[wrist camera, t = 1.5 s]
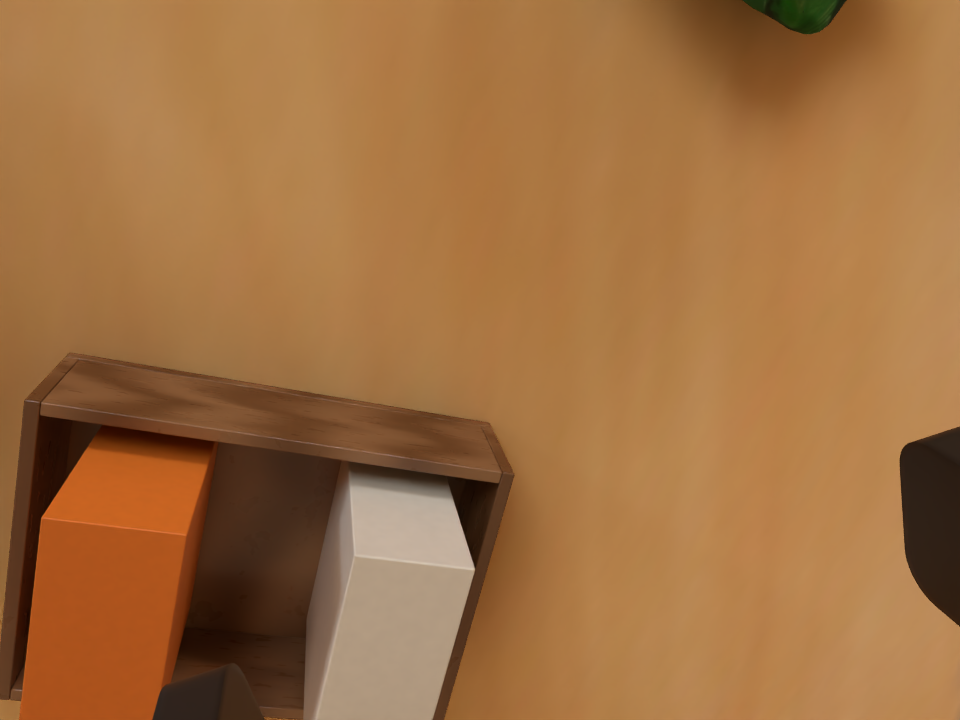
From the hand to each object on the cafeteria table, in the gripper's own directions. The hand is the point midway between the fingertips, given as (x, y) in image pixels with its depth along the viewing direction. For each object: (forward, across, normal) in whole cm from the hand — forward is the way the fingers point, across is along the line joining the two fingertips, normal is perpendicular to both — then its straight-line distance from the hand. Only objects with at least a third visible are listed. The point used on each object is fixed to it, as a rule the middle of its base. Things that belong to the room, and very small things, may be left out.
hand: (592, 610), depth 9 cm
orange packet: (+24, +13, +8) cm, 28 cm away
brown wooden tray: (+24, +9, +10) cm, 27 cm away
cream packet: (+24, +5, +12) cm, 27 cm away
